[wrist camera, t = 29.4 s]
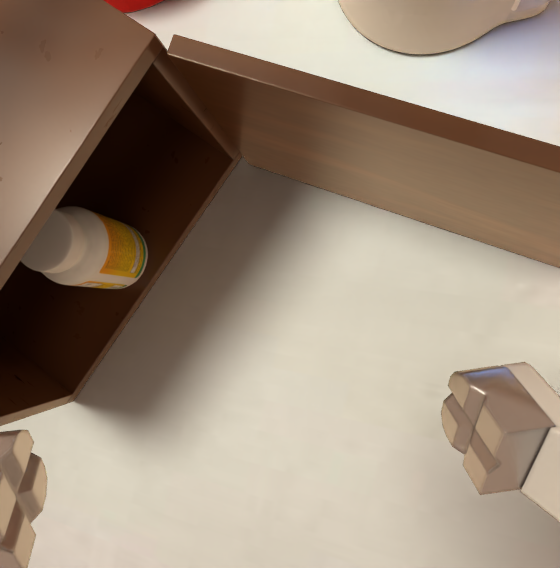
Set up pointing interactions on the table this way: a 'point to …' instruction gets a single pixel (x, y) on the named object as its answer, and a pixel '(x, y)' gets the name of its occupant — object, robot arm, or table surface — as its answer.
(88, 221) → the supplement bottle
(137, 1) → the toy clock
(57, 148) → the cabinet
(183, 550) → the table surface
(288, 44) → the table surface
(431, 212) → the cabinet door
